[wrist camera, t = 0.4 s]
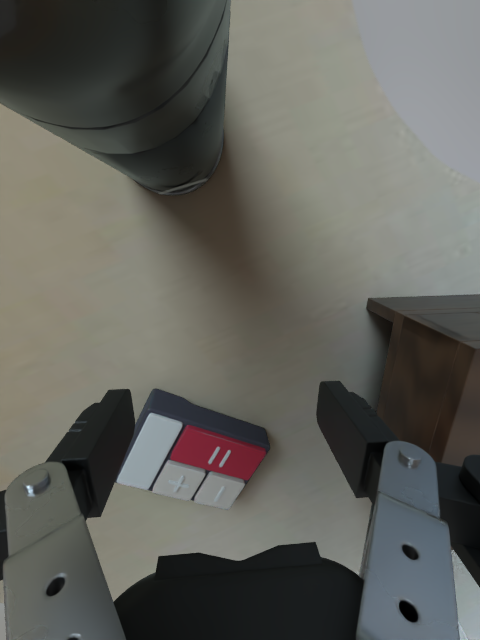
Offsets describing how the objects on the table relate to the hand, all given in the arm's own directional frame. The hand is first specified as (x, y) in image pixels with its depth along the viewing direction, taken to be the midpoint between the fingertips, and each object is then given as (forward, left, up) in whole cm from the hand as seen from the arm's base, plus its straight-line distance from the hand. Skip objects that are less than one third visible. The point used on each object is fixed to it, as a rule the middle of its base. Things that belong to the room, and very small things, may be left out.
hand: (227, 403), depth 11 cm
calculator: (+18, -4, -18) cm, 26 cm away
